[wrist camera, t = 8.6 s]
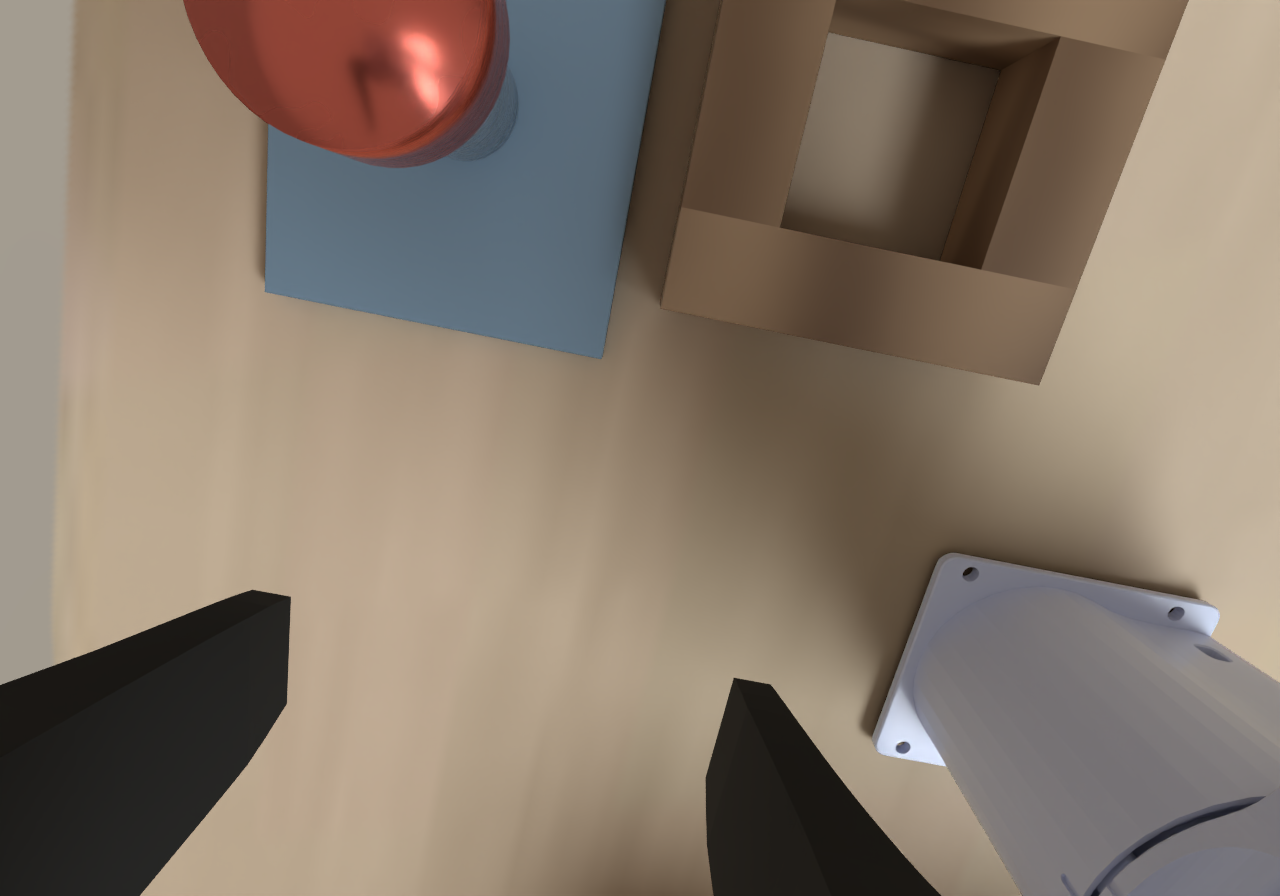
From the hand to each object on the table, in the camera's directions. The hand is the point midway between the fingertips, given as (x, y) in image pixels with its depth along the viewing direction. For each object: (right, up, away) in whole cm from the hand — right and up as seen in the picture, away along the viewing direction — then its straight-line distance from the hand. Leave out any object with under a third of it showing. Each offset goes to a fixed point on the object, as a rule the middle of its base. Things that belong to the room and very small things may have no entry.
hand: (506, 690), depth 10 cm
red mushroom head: (-3, +13, +6) cm, 15 cm away
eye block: (+9, +12, +7) cm, 16 cm away
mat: (-3, +13, +7) cm, 15 cm away
